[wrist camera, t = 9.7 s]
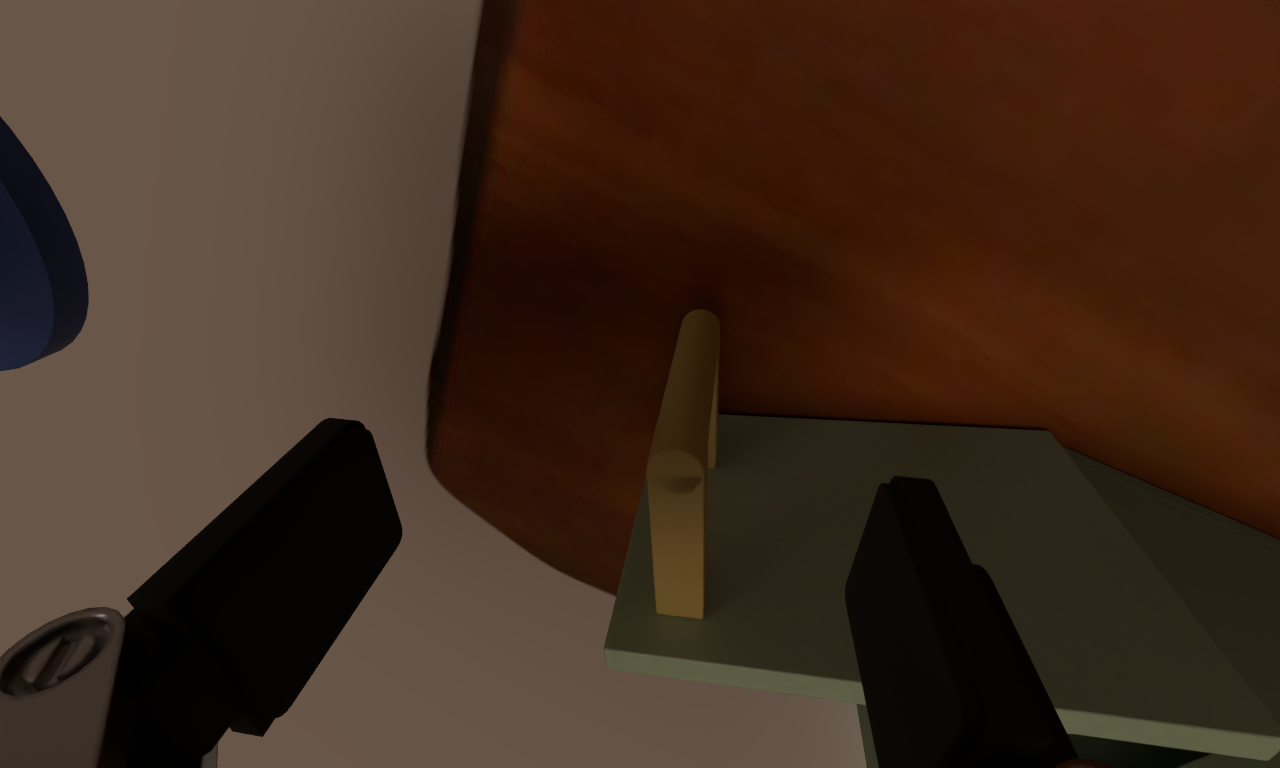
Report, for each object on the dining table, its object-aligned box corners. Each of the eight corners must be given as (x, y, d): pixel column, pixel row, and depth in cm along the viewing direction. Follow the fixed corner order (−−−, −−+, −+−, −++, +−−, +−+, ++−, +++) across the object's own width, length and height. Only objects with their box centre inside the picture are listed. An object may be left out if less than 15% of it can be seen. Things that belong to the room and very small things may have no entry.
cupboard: (845, 636, 31) (890, 917, 21) (1060, 444, 22) (1314, 770, 12) (1028, 709, 32) (1156, 1016, 22) (1308, 550, 23) (1744, 944, 13)
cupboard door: (655, 283, 21) (575, 481, 12) (1111, 286, 19) (1512, 552, 9) (662, 428, 25) (606, 670, 15) (1042, 449, 22) (1268, 762, 13)
